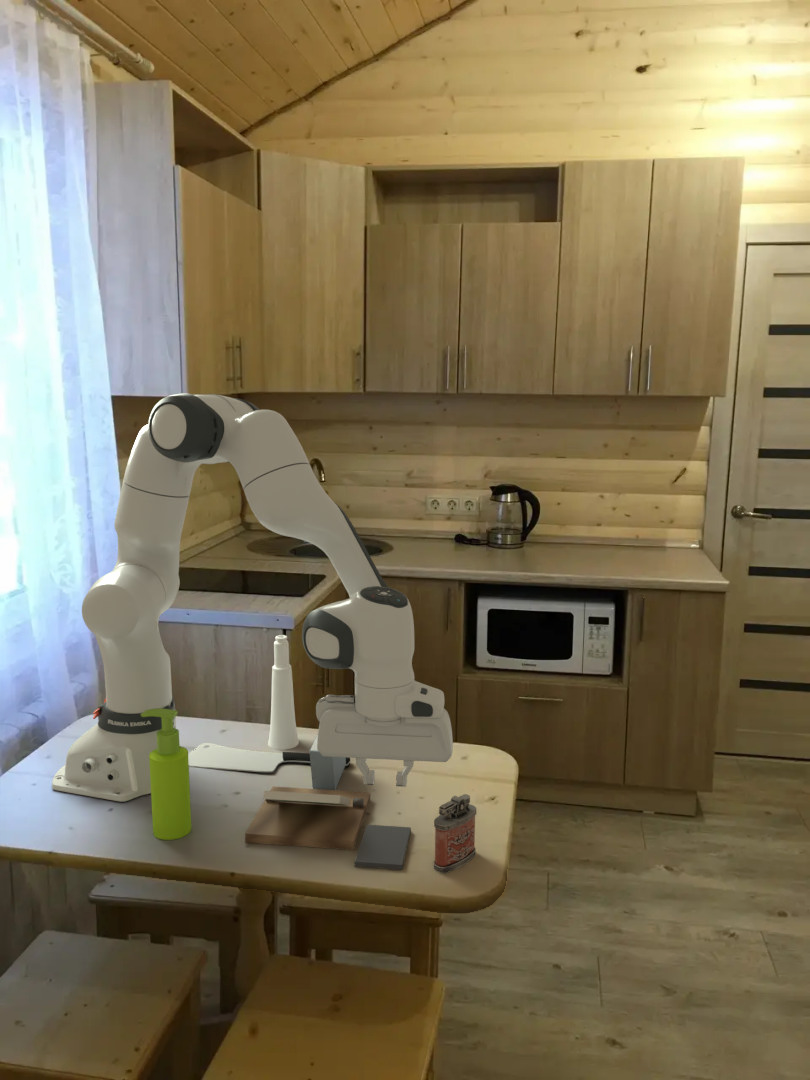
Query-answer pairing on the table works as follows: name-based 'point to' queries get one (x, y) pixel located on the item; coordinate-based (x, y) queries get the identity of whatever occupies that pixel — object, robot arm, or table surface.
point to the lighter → (454, 834)
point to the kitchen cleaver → (243, 758)
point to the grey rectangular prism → (325, 769)
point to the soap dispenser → (169, 780)
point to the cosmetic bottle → (282, 699)
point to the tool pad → (383, 847)
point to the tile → (307, 798)
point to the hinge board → (309, 821)
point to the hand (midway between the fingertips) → (385, 784)
